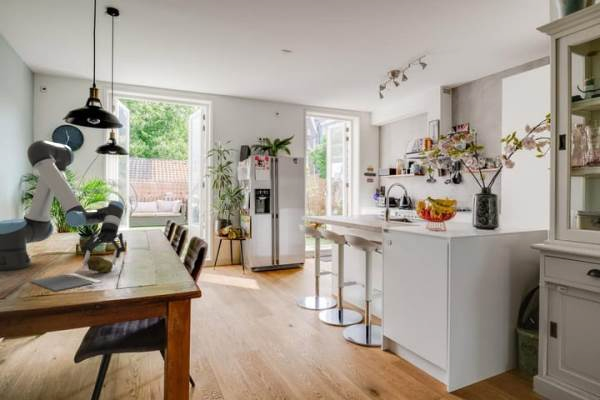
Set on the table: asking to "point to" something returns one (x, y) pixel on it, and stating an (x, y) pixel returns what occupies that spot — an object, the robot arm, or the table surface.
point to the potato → (99, 264)
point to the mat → (60, 282)
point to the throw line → (85, 278)
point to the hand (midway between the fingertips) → (99, 263)
